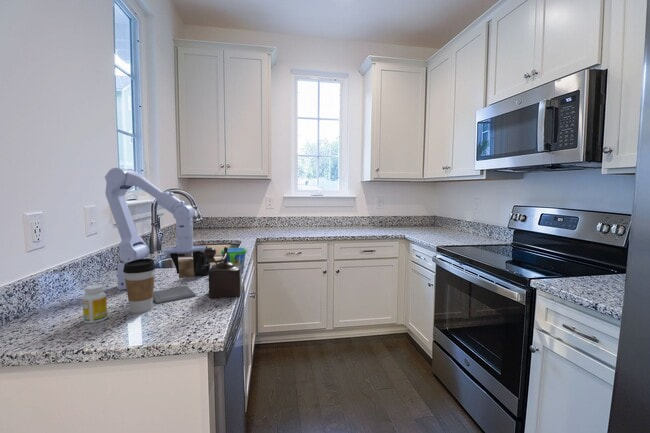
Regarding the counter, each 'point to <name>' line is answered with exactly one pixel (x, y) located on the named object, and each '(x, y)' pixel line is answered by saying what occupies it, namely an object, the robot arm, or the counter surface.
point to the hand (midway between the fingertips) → (186, 272)
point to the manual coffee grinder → (223, 276)
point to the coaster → (173, 294)
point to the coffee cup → (140, 284)
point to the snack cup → (236, 256)
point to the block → (186, 268)
